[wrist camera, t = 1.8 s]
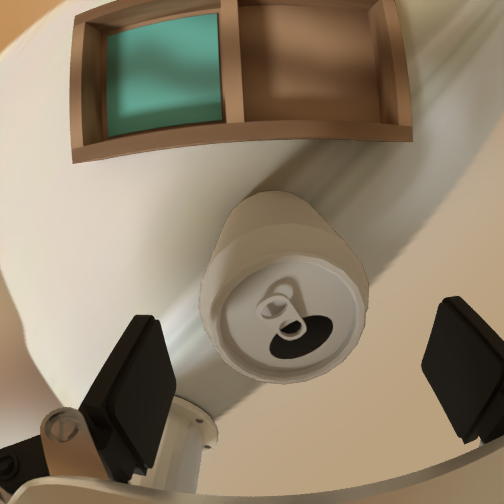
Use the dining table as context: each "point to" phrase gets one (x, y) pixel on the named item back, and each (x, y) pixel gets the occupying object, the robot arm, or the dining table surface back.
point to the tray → (235, 74)
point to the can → (282, 291)
